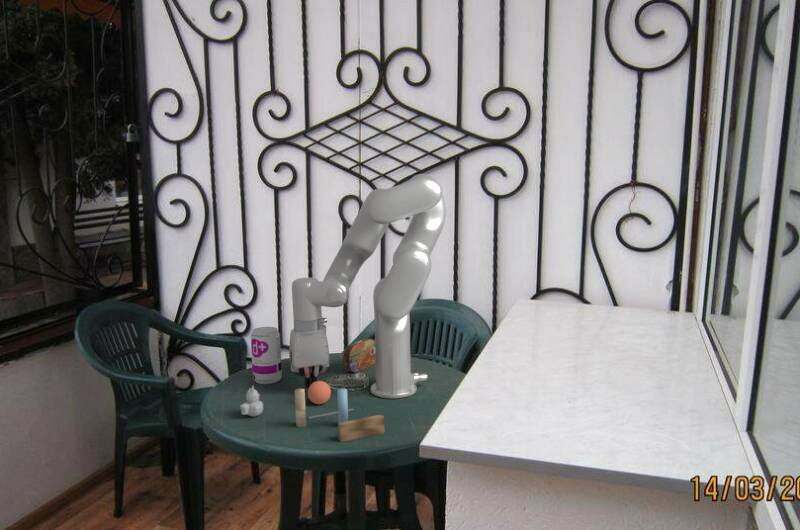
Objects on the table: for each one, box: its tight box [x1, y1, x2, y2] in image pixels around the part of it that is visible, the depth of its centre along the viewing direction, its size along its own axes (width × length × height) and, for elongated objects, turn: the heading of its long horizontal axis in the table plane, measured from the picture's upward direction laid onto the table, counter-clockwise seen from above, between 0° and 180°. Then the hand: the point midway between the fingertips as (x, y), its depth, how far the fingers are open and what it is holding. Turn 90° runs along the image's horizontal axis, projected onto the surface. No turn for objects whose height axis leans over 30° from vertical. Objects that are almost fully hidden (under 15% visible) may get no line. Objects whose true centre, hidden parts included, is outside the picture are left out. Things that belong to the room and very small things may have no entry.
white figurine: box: [239, 385, 264, 417], centre depth 181 cm, size 5×7×8 cm
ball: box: [307, 380, 332, 405], centre depth 189 cm, size 6×6×6 cm
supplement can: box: [250, 326, 283, 385], centre depth 207 cm, size 8×8×15 cm
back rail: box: [337, 413, 386, 443], centre depth 167 cm, size 11×2×4 cm, turn 116°
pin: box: [336, 388, 349, 424], centre depth 173 cm, size 2×2×9 cm
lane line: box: [307, 408, 355, 420], centre depth 182 cm, size 12×1×1 cm, turn 116°
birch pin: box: [294, 388, 307, 429], centre depth 174 cm, size 2×2×9 cm
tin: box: [342, 338, 376, 374], centre depth 217 cm, size 15×3×8 cm, turn 147°
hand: (311, 389), depth 195 cm, fingers closed
